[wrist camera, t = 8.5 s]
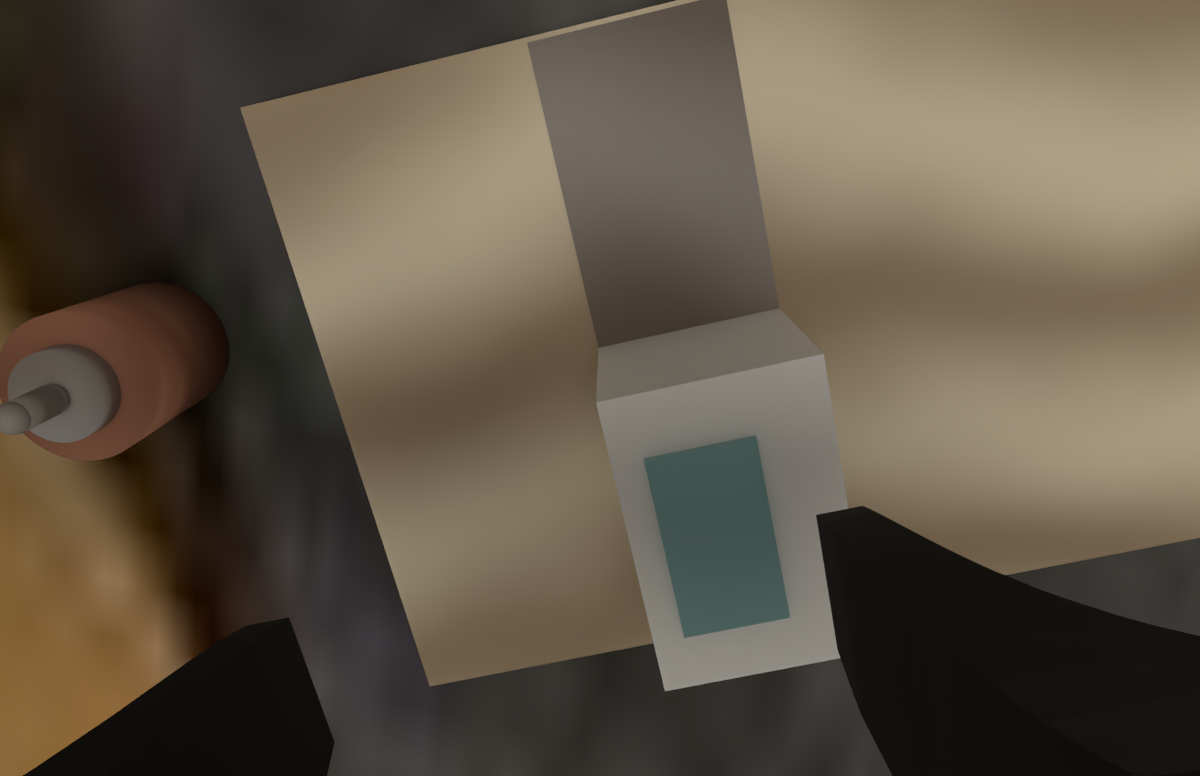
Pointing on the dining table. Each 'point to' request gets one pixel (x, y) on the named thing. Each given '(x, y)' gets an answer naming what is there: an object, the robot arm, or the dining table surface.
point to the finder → (725, 492)
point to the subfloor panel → (755, 280)
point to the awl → (110, 369)
